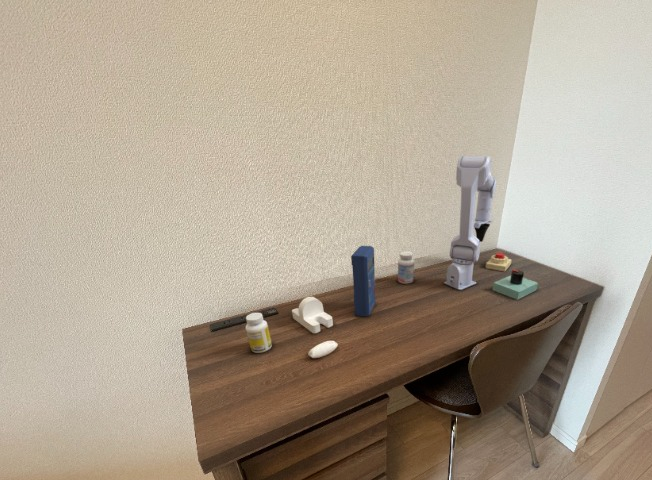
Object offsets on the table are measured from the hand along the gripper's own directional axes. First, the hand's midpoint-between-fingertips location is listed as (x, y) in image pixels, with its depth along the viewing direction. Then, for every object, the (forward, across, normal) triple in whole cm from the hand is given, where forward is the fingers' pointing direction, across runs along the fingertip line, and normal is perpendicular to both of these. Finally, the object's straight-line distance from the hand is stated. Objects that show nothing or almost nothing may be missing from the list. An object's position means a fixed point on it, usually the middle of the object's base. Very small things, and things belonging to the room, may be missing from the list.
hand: (479, 241), depth 136 cm
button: (+6, +1, -9) cm, 11 cm away
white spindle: (+10, -85, +13) cm, 86 cm away
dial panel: (+10, -20, -20) cm, 30 cm away
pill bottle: (+10, -33, +17) cm, 39 cm away
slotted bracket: (+10, -74, +27) cm, 80 cm away
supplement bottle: (+10, -92, +29) cm, 97 cm away
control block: (+10, +1, -9) cm, 13 cm away
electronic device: (+10, -60, +17) cm, 63 cm away
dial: (+7, -20, -20) cm, 29 cm away
